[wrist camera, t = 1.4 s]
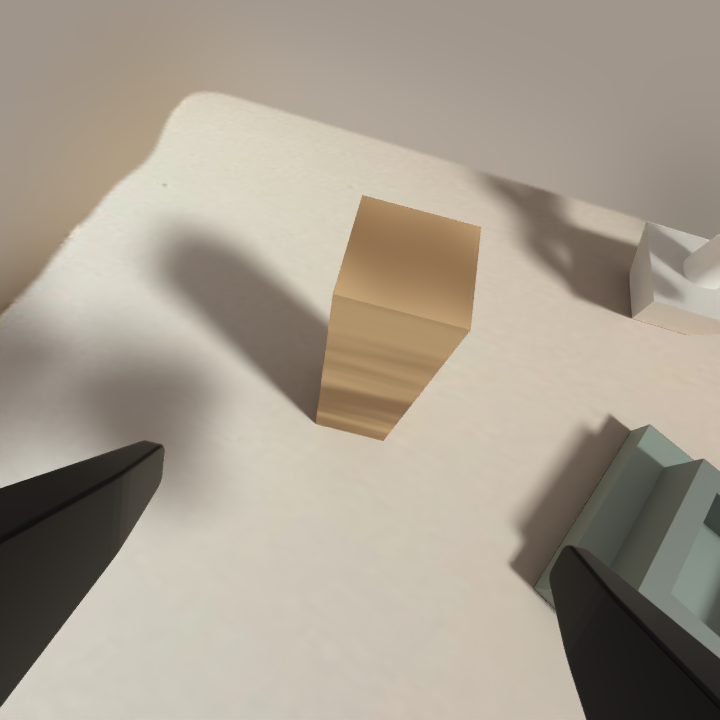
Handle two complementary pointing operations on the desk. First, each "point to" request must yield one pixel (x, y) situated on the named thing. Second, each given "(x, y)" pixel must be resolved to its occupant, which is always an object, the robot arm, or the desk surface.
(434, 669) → the desk surface
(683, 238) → the figurine
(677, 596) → the socket holder
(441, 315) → the oak stick
